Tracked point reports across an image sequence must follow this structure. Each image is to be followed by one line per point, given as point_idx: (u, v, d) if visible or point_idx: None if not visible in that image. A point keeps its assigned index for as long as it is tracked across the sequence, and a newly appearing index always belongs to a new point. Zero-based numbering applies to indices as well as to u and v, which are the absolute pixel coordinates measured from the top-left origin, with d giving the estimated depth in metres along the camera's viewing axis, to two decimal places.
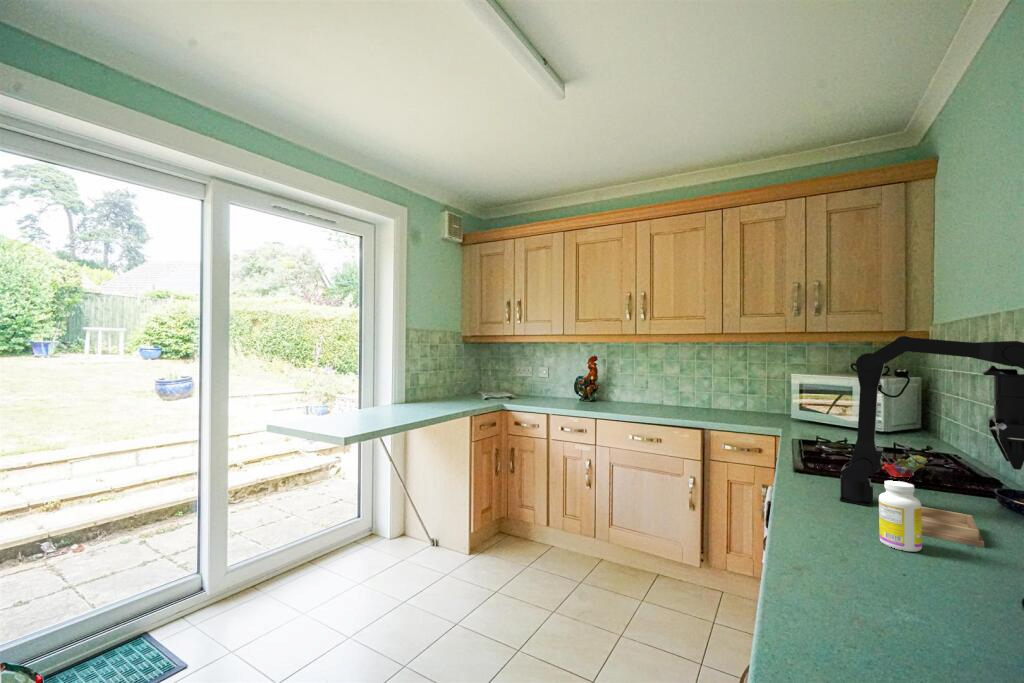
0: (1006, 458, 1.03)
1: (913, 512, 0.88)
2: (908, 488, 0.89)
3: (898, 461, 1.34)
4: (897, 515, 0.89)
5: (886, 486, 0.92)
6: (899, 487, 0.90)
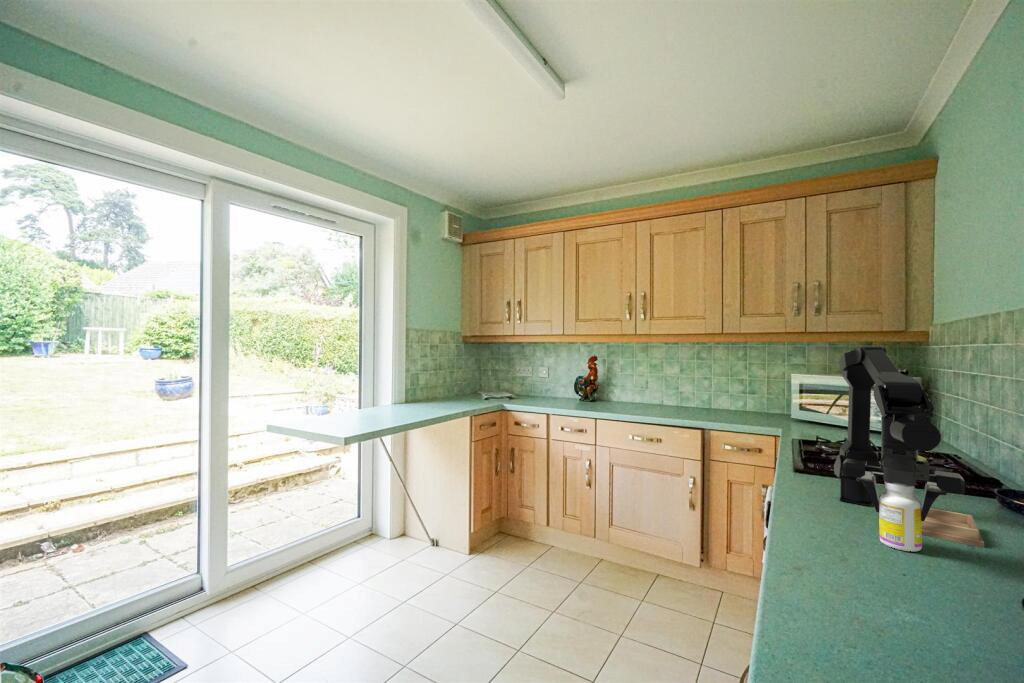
0: None
1: (913, 512, 0.88)
2: (908, 488, 0.89)
3: None
4: (897, 515, 0.89)
5: (886, 486, 0.92)
6: (899, 487, 0.90)
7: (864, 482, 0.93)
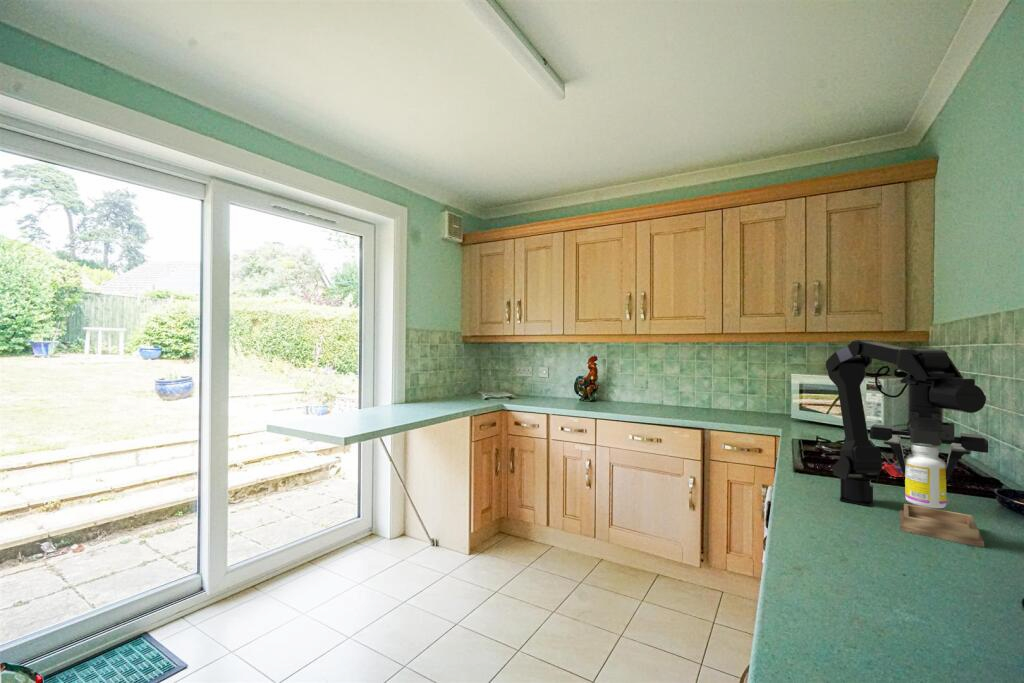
0: None
1: (938, 471, 0.94)
2: (934, 449, 0.95)
3: None
4: (923, 474, 0.95)
5: (912, 448, 0.98)
6: (925, 448, 0.96)
7: (891, 445, 0.99)
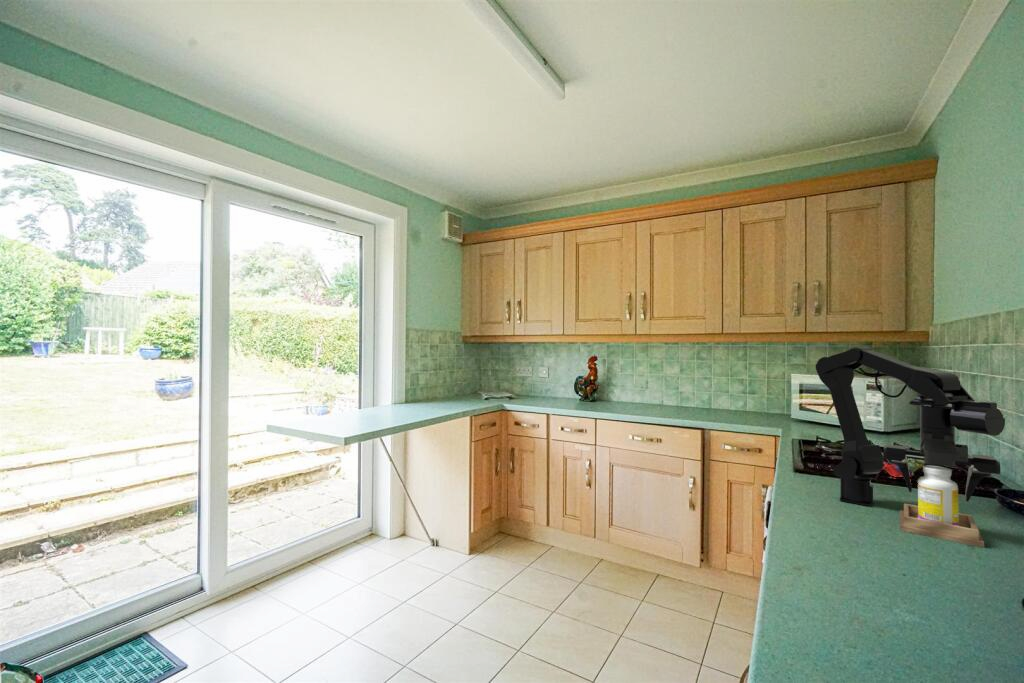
0: (965, 497, 0.98)
1: (951, 493, 0.97)
2: (946, 472, 0.98)
3: None
4: (936, 496, 0.98)
5: (925, 470, 1.01)
6: (938, 471, 0.98)
7: (898, 464, 1.03)
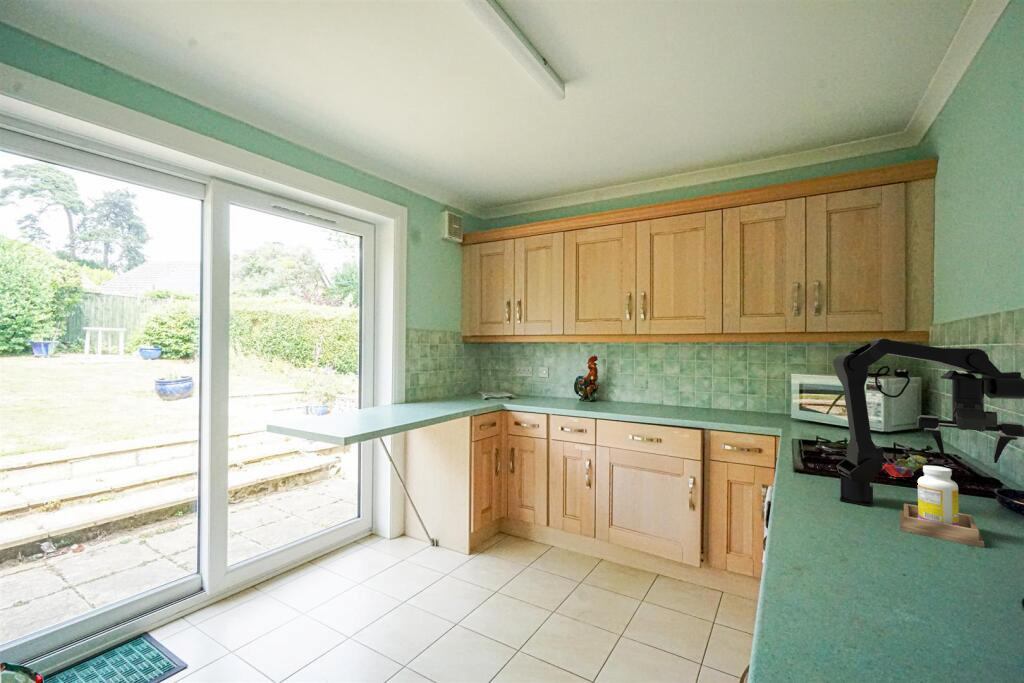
0: (993, 459, 1.09)
1: (951, 493, 0.97)
2: (946, 472, 0.98)
3: (898, 461, 1.34)
4: (936, 496, 0.98)
5: (925, 470, 1.01)
6: (938, 471, 0.98)
7: (932, 432, 1.14)
